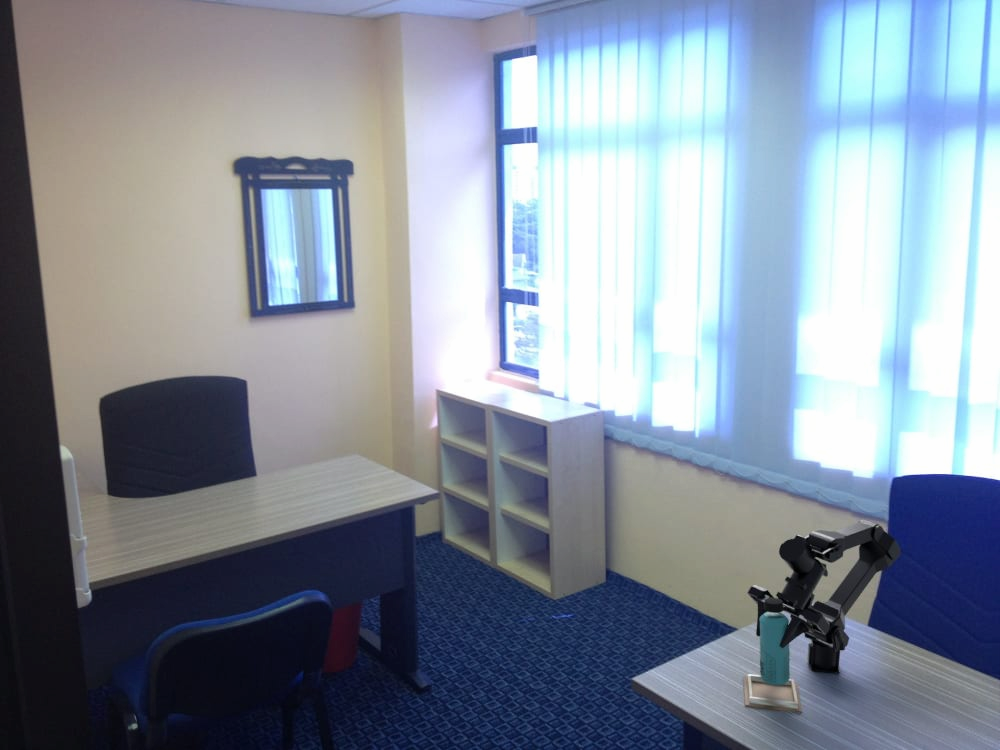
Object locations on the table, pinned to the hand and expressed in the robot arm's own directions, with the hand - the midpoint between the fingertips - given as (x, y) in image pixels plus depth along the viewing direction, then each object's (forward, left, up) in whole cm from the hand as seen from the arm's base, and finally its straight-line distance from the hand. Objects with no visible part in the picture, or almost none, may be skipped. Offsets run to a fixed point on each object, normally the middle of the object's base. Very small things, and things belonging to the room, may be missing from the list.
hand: (769, 641), depth 201 cm
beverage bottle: (-2, 0, -11) cm, 11 cm away
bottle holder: (-1, -1, -13) cm, 13 cm away
